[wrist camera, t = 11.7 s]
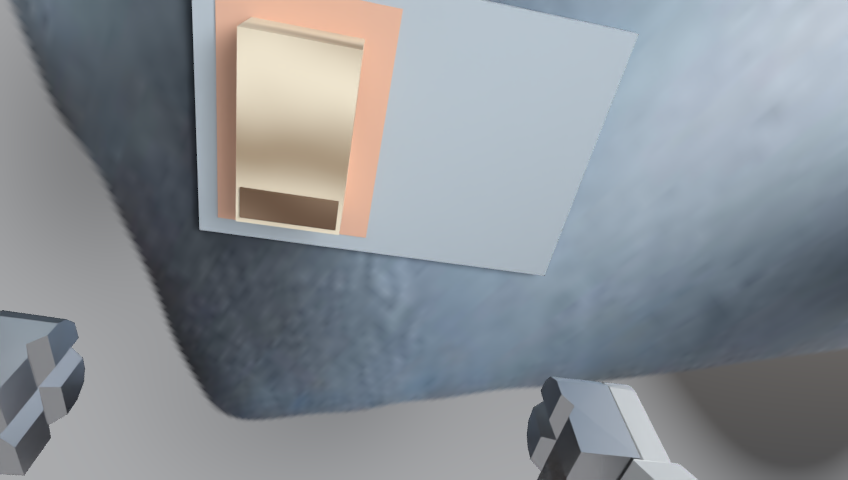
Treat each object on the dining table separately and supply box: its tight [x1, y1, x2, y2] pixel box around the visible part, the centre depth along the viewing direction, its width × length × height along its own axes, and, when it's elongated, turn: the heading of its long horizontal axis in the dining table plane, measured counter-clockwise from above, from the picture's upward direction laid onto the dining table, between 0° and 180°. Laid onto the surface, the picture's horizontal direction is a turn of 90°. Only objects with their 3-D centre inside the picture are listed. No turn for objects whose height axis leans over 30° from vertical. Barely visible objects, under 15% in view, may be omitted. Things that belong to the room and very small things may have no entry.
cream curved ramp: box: [236, 17, 365, 235], centre depth 24 cm, size 9×5×3 cm, turn 169°
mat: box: [192, 0, 639, 276], centre depth 26 cm, size 20×14×1 cm
